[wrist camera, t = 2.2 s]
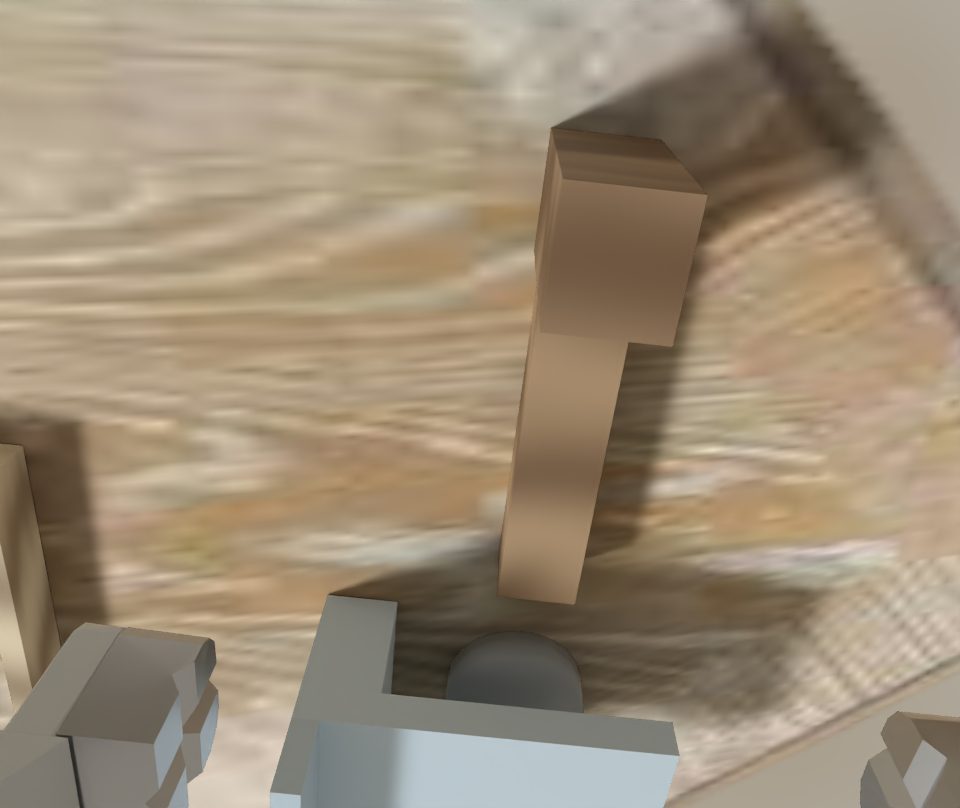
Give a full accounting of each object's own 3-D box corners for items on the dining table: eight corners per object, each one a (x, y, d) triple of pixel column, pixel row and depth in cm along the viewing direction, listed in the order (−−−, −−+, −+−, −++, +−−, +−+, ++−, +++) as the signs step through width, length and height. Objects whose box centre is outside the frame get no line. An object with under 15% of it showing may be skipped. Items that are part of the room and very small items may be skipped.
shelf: (327, 594, 35) (269, 792, 27) (652, 627, 35) (696, 833, 27) (325, 724, 39) (273, 933, 30) (618, 753, 39) (647, 968, 31)
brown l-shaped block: (551, 127, 26) (562, 178, 20) (661, 140, 26) (707, 194, 20) (492, 554, 34) (487, 686, 28) (576, 563, 34) (590, 696, 28)
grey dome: (453, 621, 36) (450, 656, 34) (589, 635, 36) (593, 670, 34) (443, 716, 39) (440, 752, 37) (570, 728, 39) (572, 765, 37)
